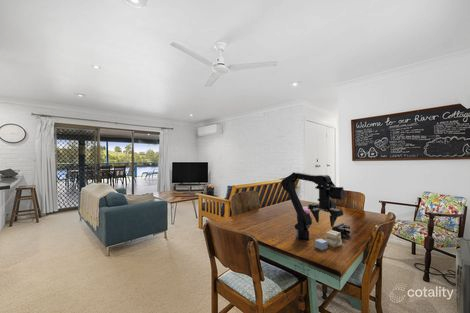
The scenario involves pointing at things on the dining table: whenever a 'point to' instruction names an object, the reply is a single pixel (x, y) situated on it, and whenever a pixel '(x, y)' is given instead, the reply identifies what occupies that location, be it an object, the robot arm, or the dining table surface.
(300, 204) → the robot arm
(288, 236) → the dining table surface
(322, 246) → the blue block
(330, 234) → the tower top
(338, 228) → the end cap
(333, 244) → the tower base
